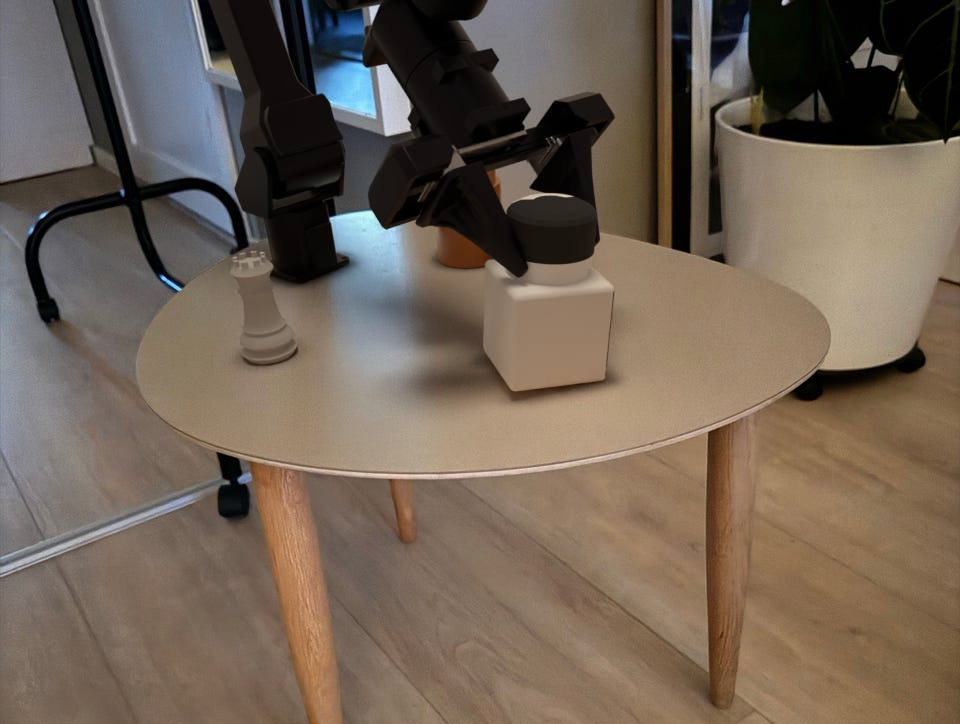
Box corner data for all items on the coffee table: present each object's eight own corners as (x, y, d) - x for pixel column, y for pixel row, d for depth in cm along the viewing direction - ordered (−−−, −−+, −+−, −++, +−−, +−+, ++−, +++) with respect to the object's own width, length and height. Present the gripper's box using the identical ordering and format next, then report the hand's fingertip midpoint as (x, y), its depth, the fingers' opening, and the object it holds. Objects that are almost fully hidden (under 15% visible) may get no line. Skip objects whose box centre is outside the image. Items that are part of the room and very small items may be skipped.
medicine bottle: (607, 381, 65) (624, 213, 58) (511, 393, 63) (518, 221, 57) (570, 340, 71) (583, 182, 64) (481, 350, 69) (485, 189, 62)
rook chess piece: (282, 367, 71) (261, 268, 66) (232, 364, 72) (207, 266, 68) (308, 343, 74) (289, 247, 70) (259, 339, 76) (237, 245, 71)
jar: (425, 259, 88) (415, 171, 84) (471, 240, 92) (464, 154, 87) (472, 273, 84) (464, 181, 80) (519, 252, 88) (513, 162, 83)
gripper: (492, 122, 75) (593, 280, 74) (297, 175, 65) (410, 359, 64) (557, 18, 65) (675, 198, 64) (341, 62, 56) (475, 275, 54)
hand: (560, 259), depth 62 cm, fingers open, 6 cm apart
